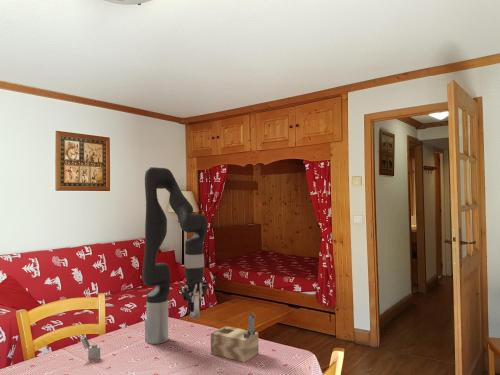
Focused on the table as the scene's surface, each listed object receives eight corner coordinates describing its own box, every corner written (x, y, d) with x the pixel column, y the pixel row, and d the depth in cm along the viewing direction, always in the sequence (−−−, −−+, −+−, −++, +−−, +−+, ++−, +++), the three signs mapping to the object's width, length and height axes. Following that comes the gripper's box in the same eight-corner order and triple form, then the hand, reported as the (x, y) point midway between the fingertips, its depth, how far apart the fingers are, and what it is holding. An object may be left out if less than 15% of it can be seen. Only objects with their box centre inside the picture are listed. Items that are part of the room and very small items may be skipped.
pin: (188, 317, 146) (188, 292, 146) (194, 315, 149) (194, 291, 149) (195, 319, 144) (195, 293, 145) (201, 316, 147) (200, 292, 147)
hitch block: (210, 353, 150) (210, 328, 150) (226, 345, 158) (225, 322, 159) (244, 362, 141) (244, 336, 141) (258, 353, 149) (258, 328, 150)
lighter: (100, 357, 147) (100, 336, 147) (98, 359, 145) (98, 338, 146) (82, 357, 148) (83, 336, 148) (80, 359, 146) (80, 338, 146)
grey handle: (248, 316, 144) (251, 316, 144) (253, 313, 147) (256, 314, 147) (246, 336, 145) (248, 337, 144) (251, 333, 148) (253, 334, 147)
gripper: (199, 262, 155) (199, 304, 155) (174, 267, 144) (174, 313, 143) (213, 263, 151) (213, 307, 150) (189, 269, 139) (189, 316, 139)
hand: (194, 310), depth 147 cm, fingers closed on pin, 3 cm apart
